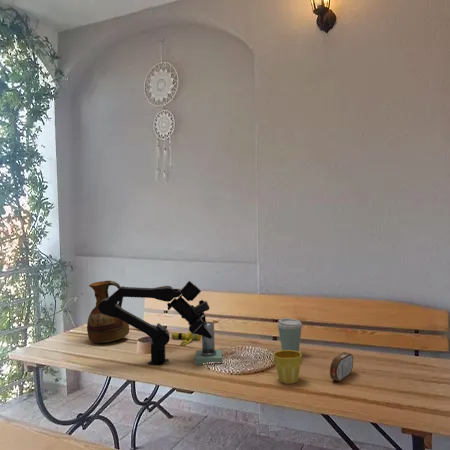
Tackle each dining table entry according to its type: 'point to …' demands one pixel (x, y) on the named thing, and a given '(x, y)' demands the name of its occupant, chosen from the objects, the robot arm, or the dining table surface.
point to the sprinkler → (186, 337)
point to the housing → (208, 341)
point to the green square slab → (207, 357)
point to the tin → (341, 366)
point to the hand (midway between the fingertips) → (211, 334)
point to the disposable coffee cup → (290, 333)
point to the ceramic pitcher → (104, 317)
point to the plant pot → (288, 365)
